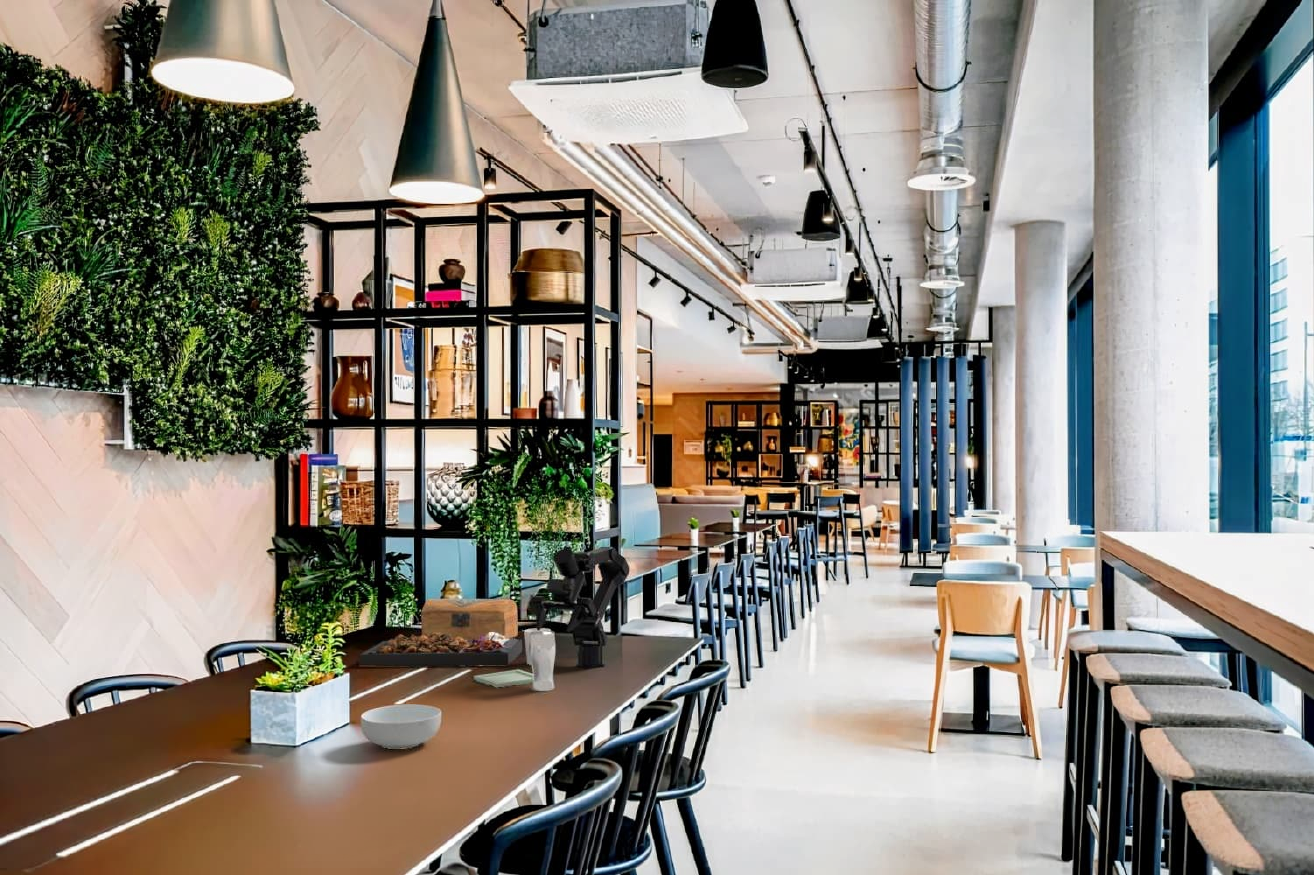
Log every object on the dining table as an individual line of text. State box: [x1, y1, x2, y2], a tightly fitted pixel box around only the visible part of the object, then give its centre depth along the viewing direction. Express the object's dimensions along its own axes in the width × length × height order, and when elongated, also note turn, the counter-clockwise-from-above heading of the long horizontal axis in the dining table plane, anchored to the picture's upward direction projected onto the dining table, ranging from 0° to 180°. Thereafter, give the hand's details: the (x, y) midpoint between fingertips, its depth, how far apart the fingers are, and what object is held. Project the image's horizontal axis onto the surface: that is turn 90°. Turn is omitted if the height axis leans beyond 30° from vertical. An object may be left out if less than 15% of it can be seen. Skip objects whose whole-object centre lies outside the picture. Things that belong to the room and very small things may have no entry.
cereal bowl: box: [360, 703, 442, 749], centre depth 231 cm, size 17×17×7 cm
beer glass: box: [529, 630, 556, 692], centre depth 286 cm, size 7×7×15 cm
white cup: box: [523, 627, 552, 666], centre depth 323 cm, size 8×8×10 cm
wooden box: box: [420, 598, 519, 640], centre depth 371 cm, size 30×16×14 cm, turn 80°
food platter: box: [358, 632, 523, 666], centre depth 333 cm, size 45×25×10 cm, turn 88°
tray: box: [473, 668, 533, 689], centre depth 298 cm, size 14×14×1 cm
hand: (552, 630), depth 295 cm, fingers open, 9 cm apart
